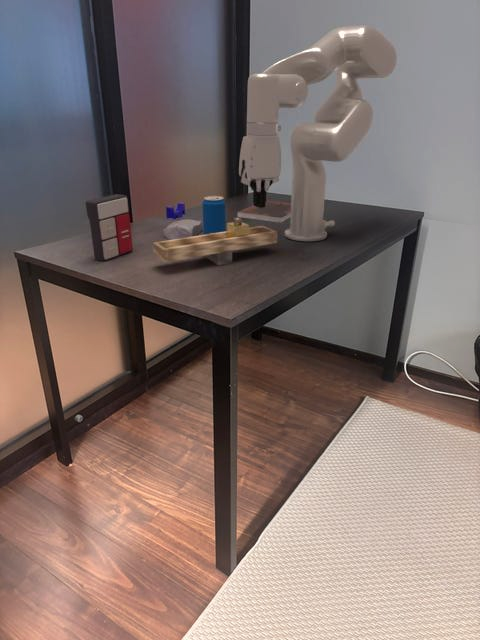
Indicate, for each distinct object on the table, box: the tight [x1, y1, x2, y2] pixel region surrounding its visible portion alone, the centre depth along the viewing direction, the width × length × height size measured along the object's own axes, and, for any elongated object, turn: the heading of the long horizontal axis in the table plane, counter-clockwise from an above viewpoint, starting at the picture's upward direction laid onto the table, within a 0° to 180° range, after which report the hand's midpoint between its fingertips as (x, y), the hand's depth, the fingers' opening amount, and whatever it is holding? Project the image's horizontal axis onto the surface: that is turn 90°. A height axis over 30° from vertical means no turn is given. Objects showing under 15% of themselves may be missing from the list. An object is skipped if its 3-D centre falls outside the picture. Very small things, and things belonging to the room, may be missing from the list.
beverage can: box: [202, 195, 227, 235], centre depth 138 cm, size 6×6×12 cm
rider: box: [226, 216, 250, 238], centre depth 124 cm, size 4×4×6 cm
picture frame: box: [237, 200, 291, 223], centre depth 170 cm, size 16×2×22 cm
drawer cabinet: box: [85, 193, 133, 262], centre depth 124 cm, size 11×4×15 cm, turn 148°
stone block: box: [163, 219, 203, 240], centre depth 145 cm, size 12×5×10 cm
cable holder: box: [165, 202, 186, 220], centre depth 165 cm, size 8×4×4 cm, turn 150°
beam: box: [152, 225, 278, 266], centre depth 123 cm, size 32×8×6 cm, turn 120°
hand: (259, 206), depth 124 cm, fingers closed
